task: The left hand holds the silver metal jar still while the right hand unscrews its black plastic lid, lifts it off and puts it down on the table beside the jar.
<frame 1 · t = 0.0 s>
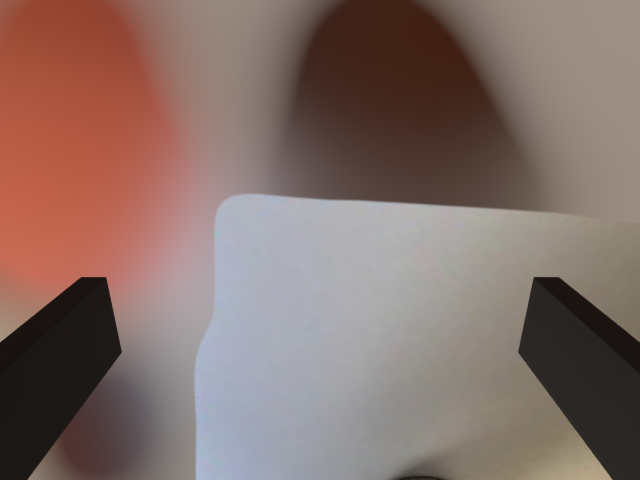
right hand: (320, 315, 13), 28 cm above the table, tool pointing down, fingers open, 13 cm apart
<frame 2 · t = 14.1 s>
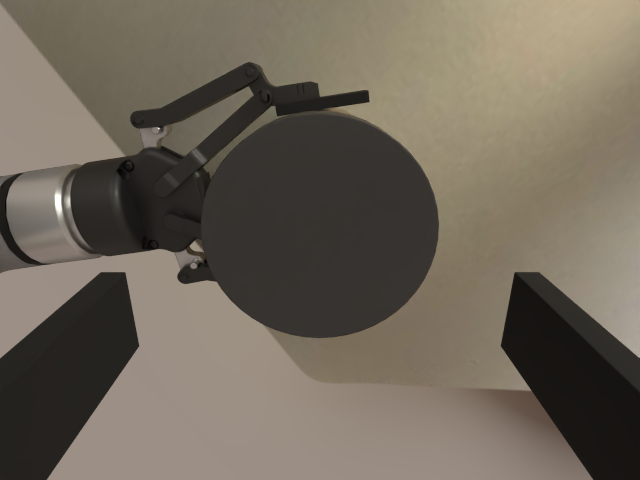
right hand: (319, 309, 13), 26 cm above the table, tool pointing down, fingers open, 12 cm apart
left hand: (374, 170, 31), fingers closed on jar, 10 cm apart
lid: (319, 235, 20), point 19 cm above the table, screwed on, not yet turned
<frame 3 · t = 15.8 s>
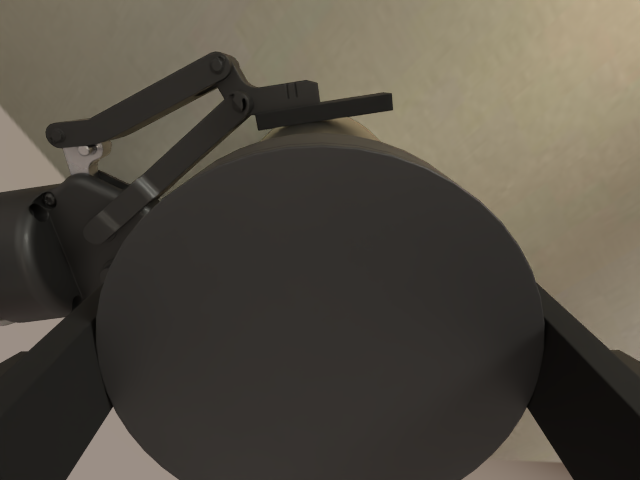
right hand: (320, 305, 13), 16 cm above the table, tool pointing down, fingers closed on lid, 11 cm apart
left hand: (396, 204, 22), fingers closed on jar, 10 cm apart
lid: (319, 361, 11), point 19 cm above the table, screwed on, not yet turned, touching right hand
jar: (320, 188, 28), on the table, touching left hand
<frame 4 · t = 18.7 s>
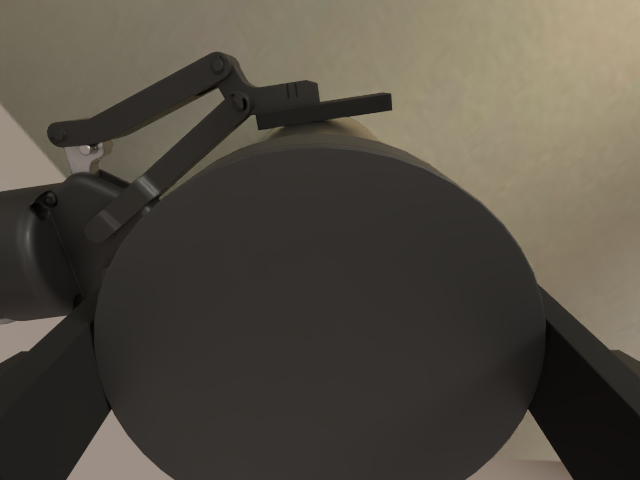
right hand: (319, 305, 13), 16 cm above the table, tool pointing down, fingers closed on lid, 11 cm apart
left hand: (395, 204, 22), fingers closed on jar, 10 cm apart
lid: (319, 363, 11), point 19 cm above the table, turned 68° so far, risen 0.2 cm, still on its thread, touching right hand
jar: (320, 187, 29), on the table, touching left hand
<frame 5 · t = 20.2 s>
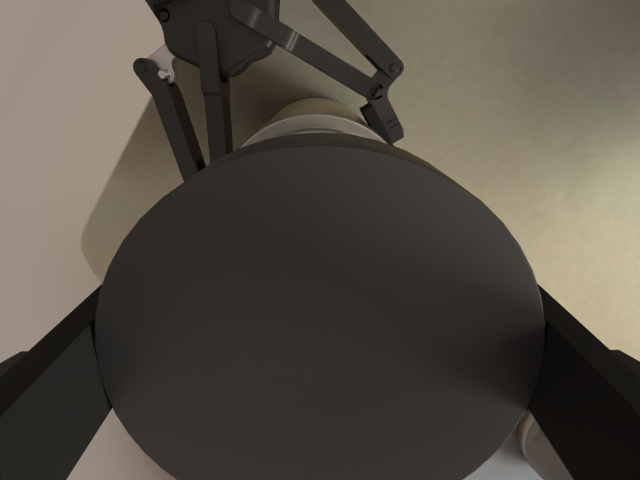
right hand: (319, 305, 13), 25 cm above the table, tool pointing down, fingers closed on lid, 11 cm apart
left hand: (343, 218, 32), fingers closed on jar, 10 cm apart
lid: (319, 361, 11), point 28 cm above the table, off its thread, touching right hand
jar: (316, 157, 37), on the table, touching left hand
when the right hand's fingers open (0 cm above the table, at t = 25.7 s): lid drops 1 cm, point 2 cm above the table.
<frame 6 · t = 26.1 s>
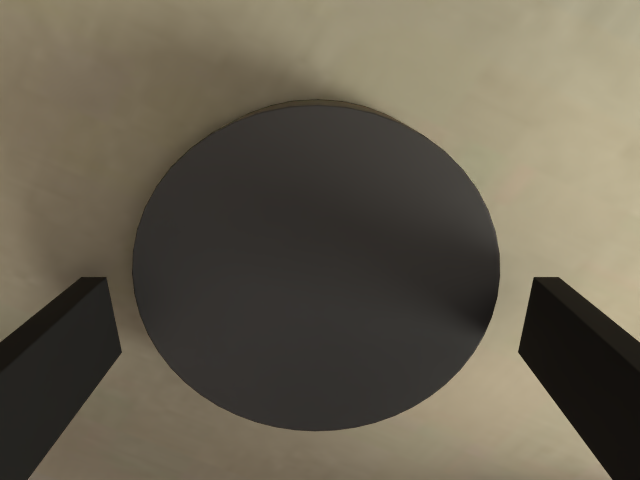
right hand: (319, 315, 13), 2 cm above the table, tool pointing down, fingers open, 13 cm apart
lid: (316, 290, 13), point 2 cm above the table, off its thread
when the left hand's fingers open (6 cm above the table, at t = 26.7 s): jar stays where it is, on the table.
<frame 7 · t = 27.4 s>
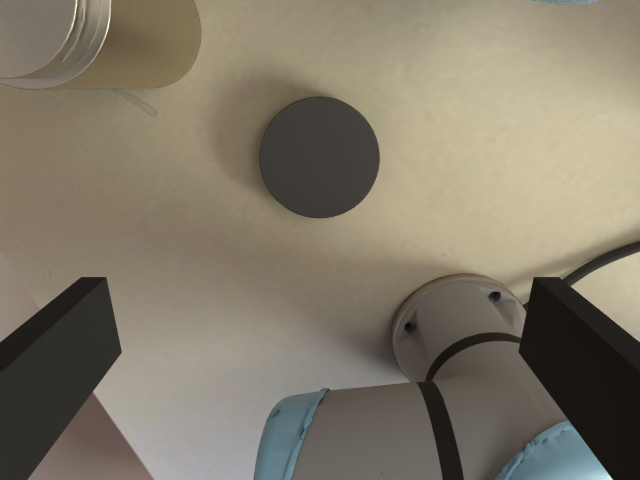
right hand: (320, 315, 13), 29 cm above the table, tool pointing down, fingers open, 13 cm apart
lid: (319, 160, 38), point 2 cm above the table, off its thread
jar: (143, 26, 36), on the table
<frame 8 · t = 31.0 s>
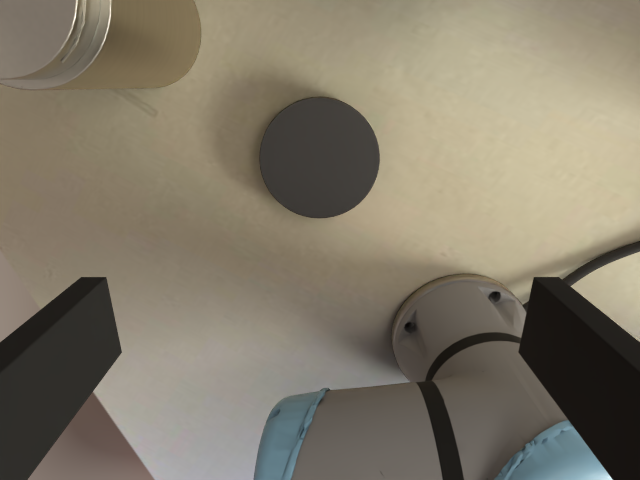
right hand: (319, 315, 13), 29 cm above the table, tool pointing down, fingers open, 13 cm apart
lid: (319, 160, 38), point 2 cm above the table, off its thread
jar: (143, 26, 36), on the table
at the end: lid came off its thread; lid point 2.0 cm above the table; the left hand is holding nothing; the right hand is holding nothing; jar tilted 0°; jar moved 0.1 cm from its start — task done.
